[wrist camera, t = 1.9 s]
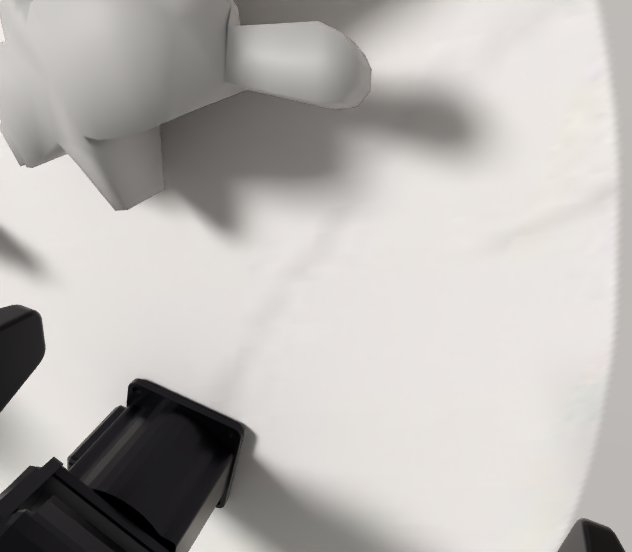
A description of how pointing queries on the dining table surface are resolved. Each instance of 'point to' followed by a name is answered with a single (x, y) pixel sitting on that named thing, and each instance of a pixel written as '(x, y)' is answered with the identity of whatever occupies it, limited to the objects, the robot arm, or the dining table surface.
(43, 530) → the robot arm
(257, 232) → the dining table surface
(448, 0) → the dining table surface
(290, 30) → the white rounded figure
